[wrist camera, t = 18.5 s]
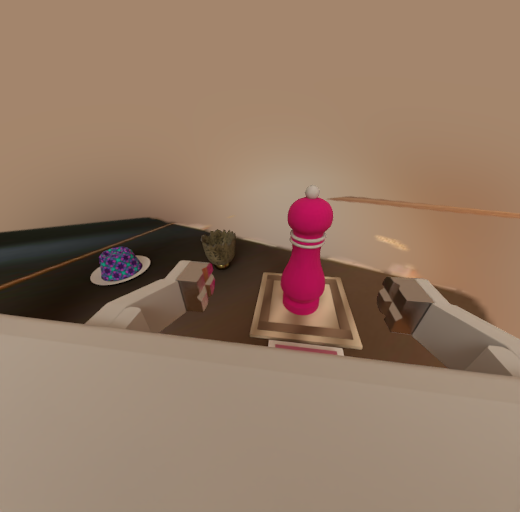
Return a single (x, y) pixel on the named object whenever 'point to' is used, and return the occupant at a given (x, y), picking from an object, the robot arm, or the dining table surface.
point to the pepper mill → (306, 253)
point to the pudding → (118, 266)
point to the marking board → (305, 316)
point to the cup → (219, 248)
